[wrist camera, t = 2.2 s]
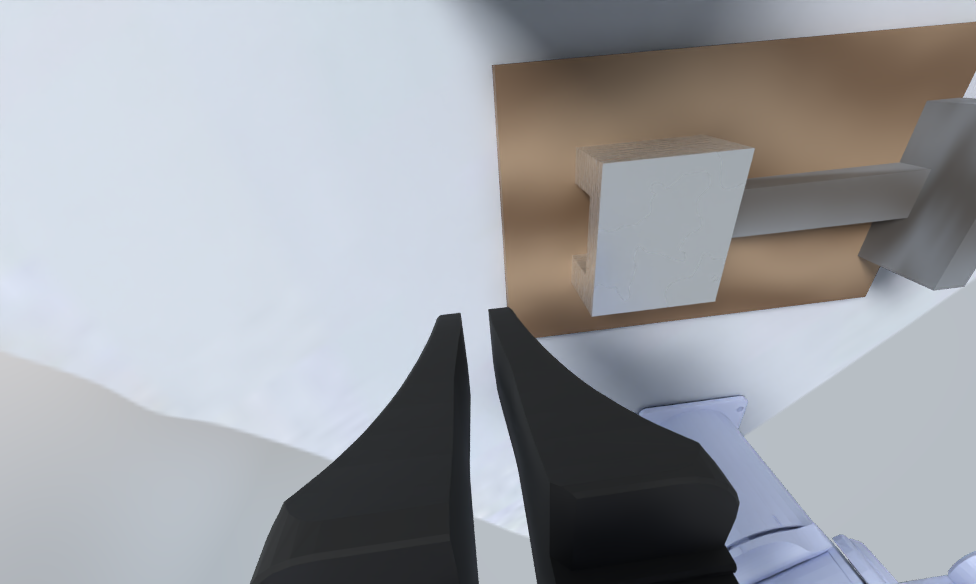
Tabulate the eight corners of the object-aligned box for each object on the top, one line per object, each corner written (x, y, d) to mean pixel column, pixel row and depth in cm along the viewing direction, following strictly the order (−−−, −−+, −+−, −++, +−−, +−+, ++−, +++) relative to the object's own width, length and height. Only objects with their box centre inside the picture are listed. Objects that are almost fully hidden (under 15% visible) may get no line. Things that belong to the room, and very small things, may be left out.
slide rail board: (853, 290, 25) (936, 335, 20) (508, 332, 23) (522, 389, 19) (978, 21, 17) (1145, 7, 13) (492, 65, 16) (508, 64, 12)
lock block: (677, 269, 21) (714, 301, 19) (571, 282, 21) (591, 316, 18) (703, 134, 18) (754, 148, 15) (576, 147, 18) (602, 163, 15)
